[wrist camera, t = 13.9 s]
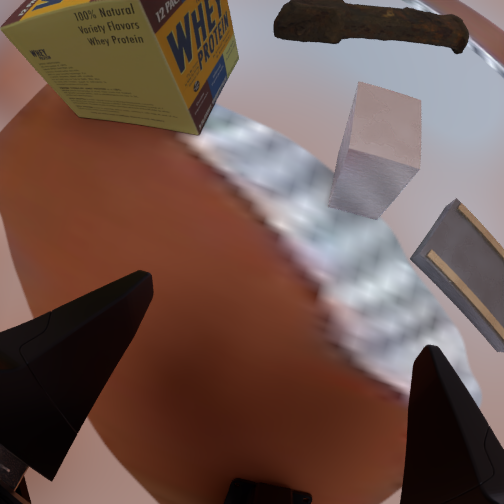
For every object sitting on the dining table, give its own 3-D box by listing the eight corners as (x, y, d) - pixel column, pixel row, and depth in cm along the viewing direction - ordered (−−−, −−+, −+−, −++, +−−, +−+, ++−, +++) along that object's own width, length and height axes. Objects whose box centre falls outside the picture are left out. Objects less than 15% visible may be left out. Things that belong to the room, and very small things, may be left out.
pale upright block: (384, 164, 24) (421, 100, 16) (376, 220, 24) (419, 169, 15) (338, 152, 25) (358, 81, 16) (327, 207, 24) (348, 148, 15)
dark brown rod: (445, 34, 28) (458, 5, 22) (461, 59, 27) (477, 29, 21) (272, 25, 30) (268, -13, 24) (277, 49, 28) (274, 9, 23)
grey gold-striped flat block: (526, 297, 21) (541, 294, 18) (496, 351, 20) (512, 352, 18) (445, 206, 23) (458, 196, 21) (409, 258, 23) (421, 252, 20)
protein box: (201, 137, 26) (137, -6, 11) (77, 118, 29) (-4, 29, 14) (242, 57, 28) (217, -72, 13) (123, 50, 31) (70, -42, 15)
